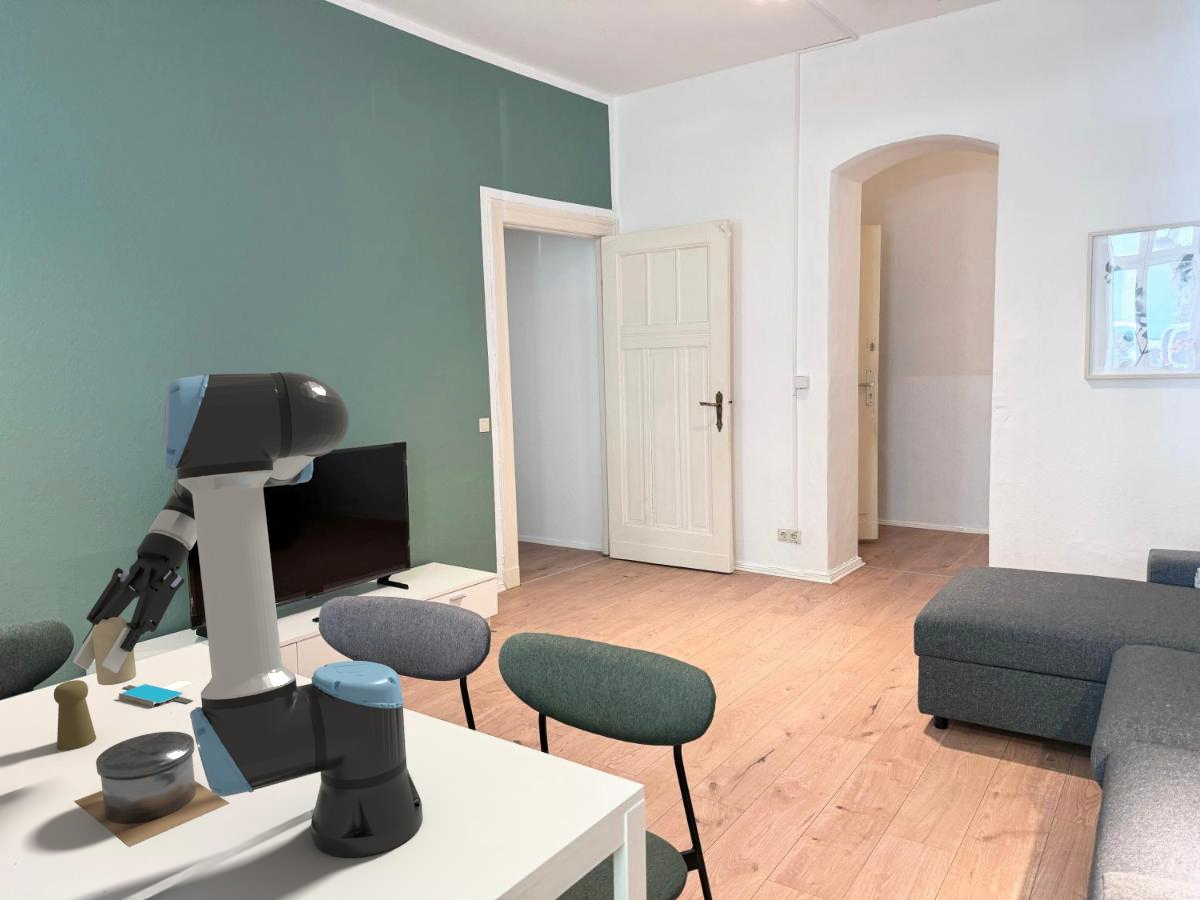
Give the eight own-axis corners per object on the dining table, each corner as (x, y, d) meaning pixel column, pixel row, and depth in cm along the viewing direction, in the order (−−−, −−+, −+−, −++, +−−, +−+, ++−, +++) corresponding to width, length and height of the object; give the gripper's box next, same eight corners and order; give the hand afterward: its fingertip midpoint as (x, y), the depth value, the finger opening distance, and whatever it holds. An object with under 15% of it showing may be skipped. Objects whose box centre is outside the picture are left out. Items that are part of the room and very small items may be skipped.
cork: (67, 753, 149) (60, 692, 148) (49, 745, 152) (42, 685, 151) (103, 739, 154) (96, 679, 153) (85, 732, 157) (78, 674, 156)
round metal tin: (214, 797, 129) (209, 746, 128) (123, 835, 119) (117, 780, 118) (175, 772, 137) (171, 724, 136) (87, 806, 127) (81, 755, 126)
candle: (119, 686, 136) (112, 625, 135) (89, 685, 138) (82, 624, 136) (144, 673, 142) (138, 614, 141) (115, 672, 143) (108, 613, 142)
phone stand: (219, 692, 175) (218, 684, 175) (166, 715, 165) (165, 706, 164) (156, 678, 184) (155, 670, 184) (102, 698, 174) (101, 690, 174)
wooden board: (230, 812, 127) (229, 802, 127) (130, 857, 117) (129, 846, 116) (170, 773, 140) (169, 764, 140) (75, 810, 129) (74, 800, 129)
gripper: (224, 556, 149) (154, 683, 135) (142, 551, 155) (69, 672, 142) (197, 532, 143) (122, 662, 130) (114, 528, 150) (34, 652, 136)
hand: (94, 667), depth 136 cm, fingers closed on candle, 5 cm apart
